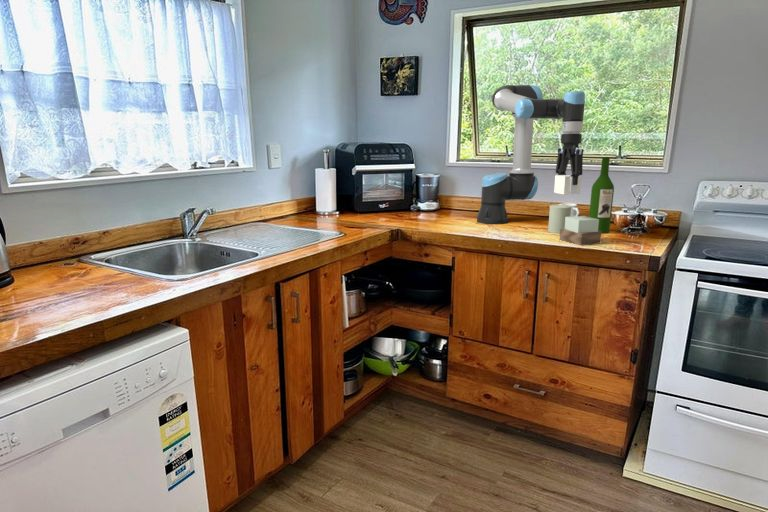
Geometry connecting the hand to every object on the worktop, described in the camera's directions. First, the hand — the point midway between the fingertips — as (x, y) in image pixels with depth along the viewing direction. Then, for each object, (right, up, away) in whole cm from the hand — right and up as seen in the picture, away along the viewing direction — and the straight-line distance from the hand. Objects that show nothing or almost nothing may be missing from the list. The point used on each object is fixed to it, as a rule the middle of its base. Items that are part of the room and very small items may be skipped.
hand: (566, 192), depth 197 cm
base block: (+6, -20, +4) cm, 21 cm away
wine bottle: (+23, -15, +23) cm, 35 cm away
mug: (+15, -11, +38) cm, 42 cm away
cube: (0, 0, 0) cm, 0 cm away
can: (+5, -15, +23) cm, 28 cm away
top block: (+6, -15, +2) cm, 17 cm away
